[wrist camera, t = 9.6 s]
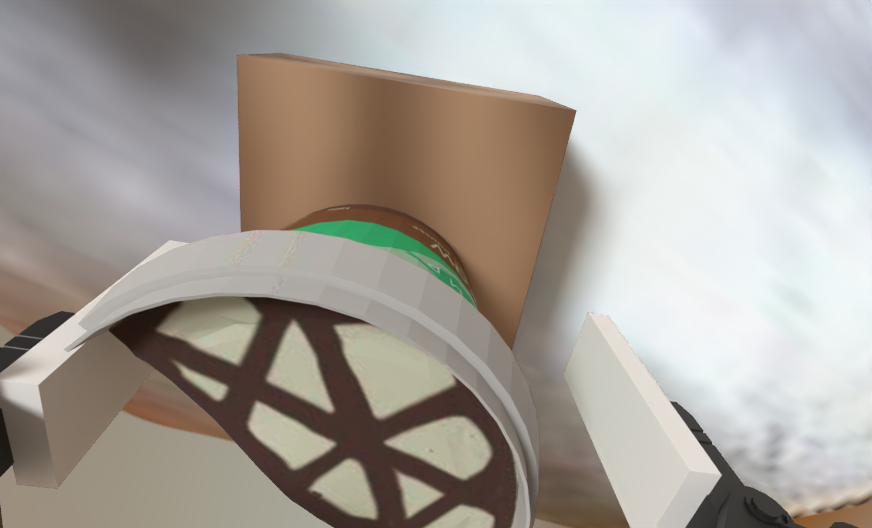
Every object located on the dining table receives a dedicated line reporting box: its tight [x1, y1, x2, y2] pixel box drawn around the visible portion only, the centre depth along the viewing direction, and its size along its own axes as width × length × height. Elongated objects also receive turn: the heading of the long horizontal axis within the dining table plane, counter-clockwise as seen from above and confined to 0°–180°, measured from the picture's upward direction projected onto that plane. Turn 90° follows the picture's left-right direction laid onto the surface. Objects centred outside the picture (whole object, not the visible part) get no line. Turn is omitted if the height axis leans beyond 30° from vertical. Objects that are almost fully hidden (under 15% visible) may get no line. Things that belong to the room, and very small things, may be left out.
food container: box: [64, 204, 540, 528], centre depth 14 cm, size 12×6×10 cm, turn 39°
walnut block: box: [237, 53, 576, 351], centre depth 22 cm, size 12×14×6 cm
